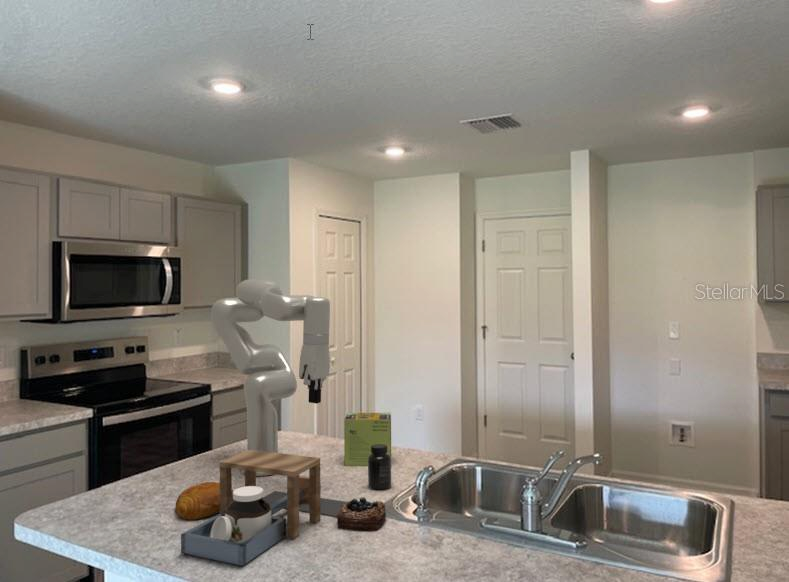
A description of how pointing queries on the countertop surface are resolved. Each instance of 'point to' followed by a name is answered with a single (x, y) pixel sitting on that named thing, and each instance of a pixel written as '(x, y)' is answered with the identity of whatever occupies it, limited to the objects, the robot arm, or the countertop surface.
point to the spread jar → (243, 516)
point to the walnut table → (279, 466)
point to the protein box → (365, 436)
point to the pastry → (361, 515)
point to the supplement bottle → (379, 468)
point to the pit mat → (326, 505)
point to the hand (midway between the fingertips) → (314, 402)
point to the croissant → (199, 501)
